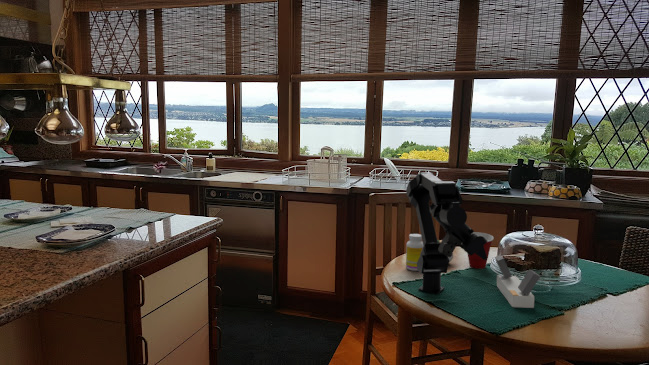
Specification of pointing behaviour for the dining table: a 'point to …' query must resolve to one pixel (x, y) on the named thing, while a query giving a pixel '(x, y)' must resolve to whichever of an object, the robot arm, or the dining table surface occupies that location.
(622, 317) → the dining table surface
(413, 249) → the supplement bottle
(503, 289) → the switch console
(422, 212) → the robot arm
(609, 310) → the dining table surface
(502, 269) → the lever grey tag
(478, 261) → the plastic cup
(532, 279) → the grey rectangular block
